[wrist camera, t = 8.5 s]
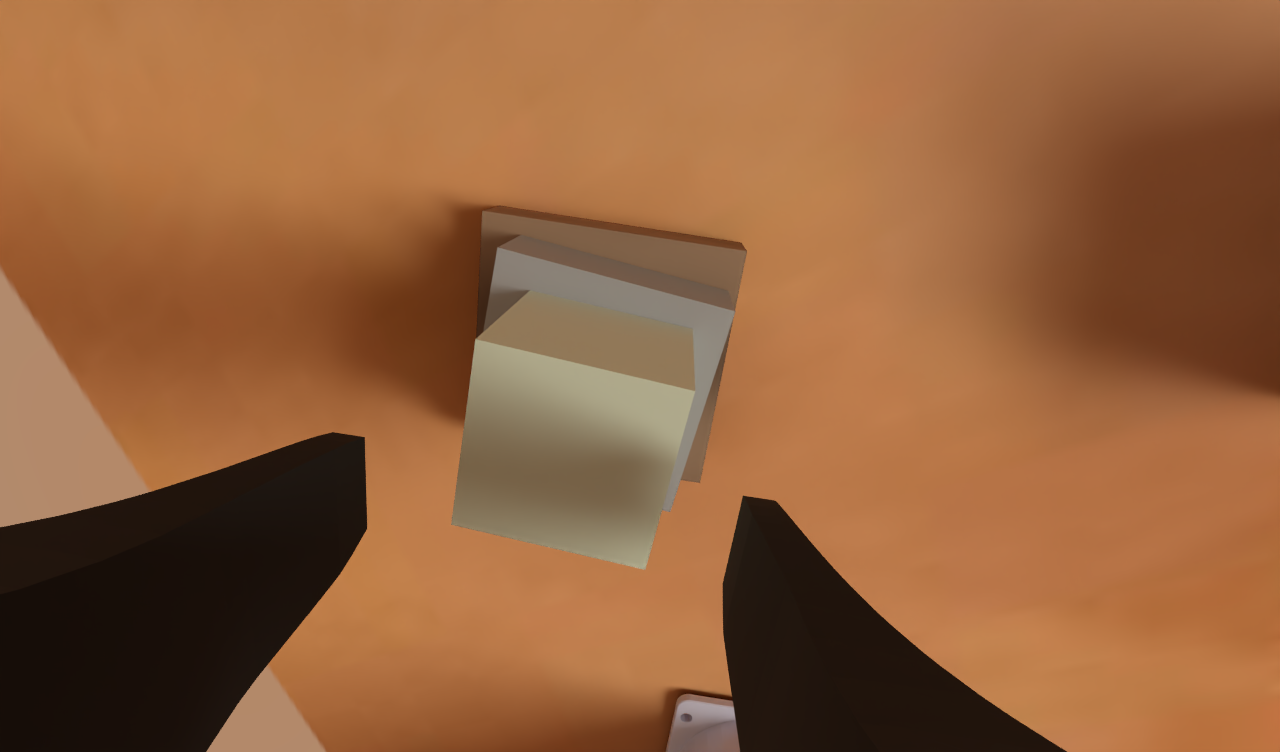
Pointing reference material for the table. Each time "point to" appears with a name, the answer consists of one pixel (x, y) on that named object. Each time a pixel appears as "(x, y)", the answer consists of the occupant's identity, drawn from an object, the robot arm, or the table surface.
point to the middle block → (620, 307)
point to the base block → (633, 246)
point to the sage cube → (574, 427)
